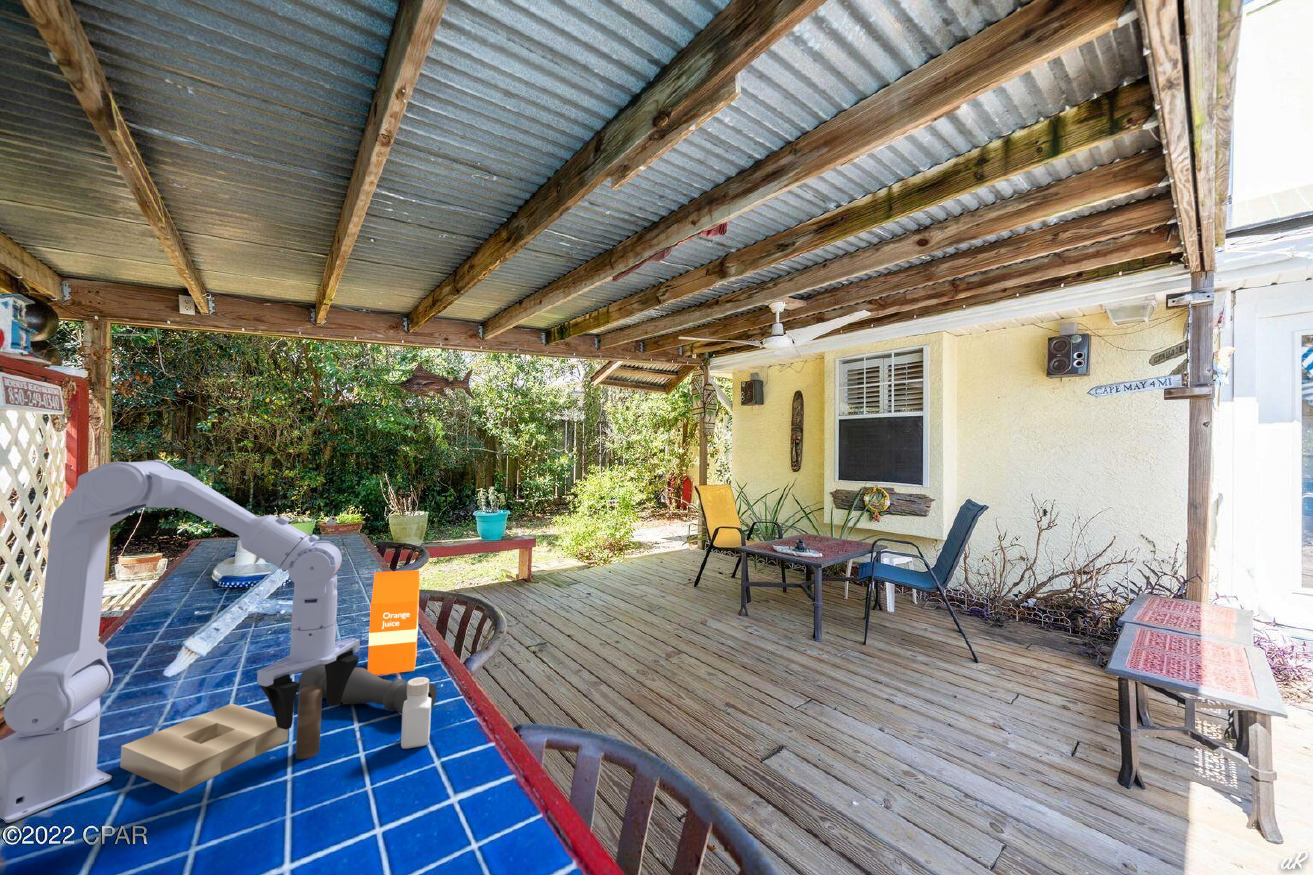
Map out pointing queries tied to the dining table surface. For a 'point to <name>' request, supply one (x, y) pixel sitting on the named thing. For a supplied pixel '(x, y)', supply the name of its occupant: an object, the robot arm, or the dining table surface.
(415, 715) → the pepper shaker
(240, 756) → the socket block
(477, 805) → the dining table surface
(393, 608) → the orange juice
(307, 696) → the walnut peg
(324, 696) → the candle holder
